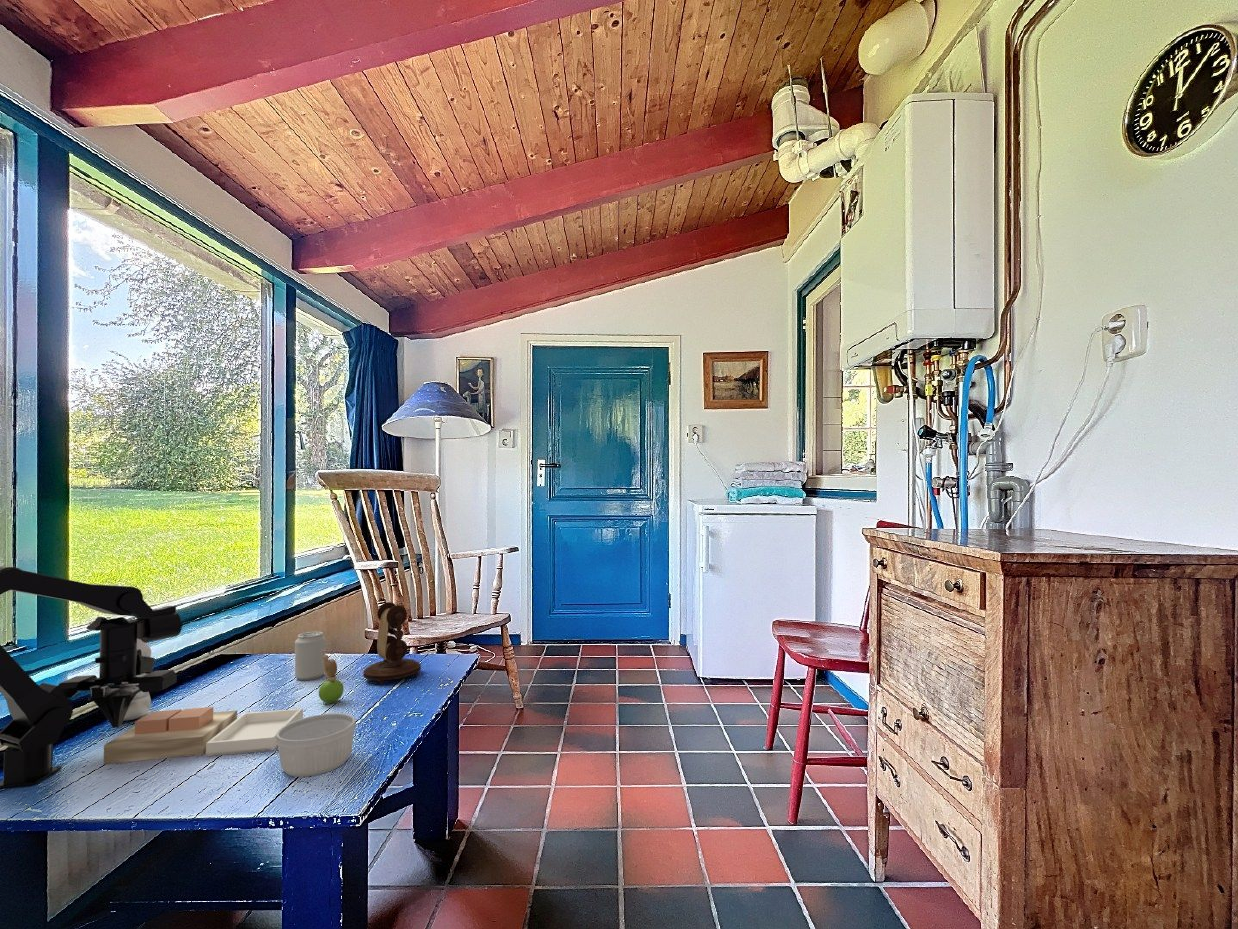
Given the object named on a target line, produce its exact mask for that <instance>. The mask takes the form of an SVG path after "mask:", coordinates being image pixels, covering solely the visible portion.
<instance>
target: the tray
mask: <svg viewBox="0 0 1238 929" xmlns="http://www.w3.org/2000/svg"><path fill="white" fill-rule="evenodd" d="M303 718H304V708H302V707H301V708H292V709H291V708H290V709H279V710H278V709H277V710H267V711H266V710H265V711H255V712H244V713H242V714H240V716H239V717H237V719H236V720H235V721H234V722H232V723H231V724H230V725H229V726H227V727H226V728H225V729H223V730H222V731H221V732H220V733H218V734H217V735H216V736H215V737H213V738H212V739H211V740H210V741H208V742H207V743H206V753H205V757H215V756H214V755H217V756H225V755H227V754H228V755H236V754H247V753H248V754H249V753H258V752H269V751H274V750H275V749H276V748H277V747H278V744H277V743H276V734H277V732H278V731H279V730H280V729H281V728H282V727H284V726H285V725H287V724H289V723H292V722H294V721H297V720H300V719H303Z"/></svg>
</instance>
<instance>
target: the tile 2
mask: <svg viewBox="0 0 1238 929" xmlns="http://www.w3.org/2000/svg"><path fill="white" fill-rule="evenodd" d="M213 712H214V706H209V707H208V706H207V707H206V706H205V707H196V708H195V707H193V708H184V709H182V711H181V712H179V713H177V714H176V715H174V716H173V717H171V718H170V719H169V732H171V731H183V730H195V729H200V728H201V727H203V726H204V725H206V724H207V723H208V722H210V721H211V720H212V719H213Z"/></svg>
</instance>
